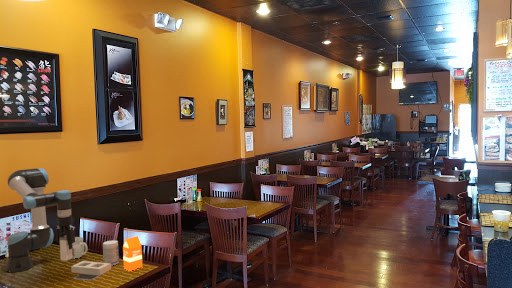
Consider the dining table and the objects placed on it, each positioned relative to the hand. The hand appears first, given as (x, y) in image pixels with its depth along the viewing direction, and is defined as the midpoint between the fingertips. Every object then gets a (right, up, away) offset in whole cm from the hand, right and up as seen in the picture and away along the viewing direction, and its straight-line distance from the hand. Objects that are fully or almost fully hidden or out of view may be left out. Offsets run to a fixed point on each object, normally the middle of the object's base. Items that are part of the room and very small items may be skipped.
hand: (66, 253), depth 234 cm
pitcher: (-11, -14, +38) cm, 42 cm away
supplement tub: (+19, -13, +21) cm, 32 cm away
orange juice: (+37, -13, +11) cm, 41 cm away
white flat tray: (+11, -13, +9) cm, 20 cm away
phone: (+13, -14, -1) cm, 19 cm away
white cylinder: (0, -3, 0) cm, 3 cm away
